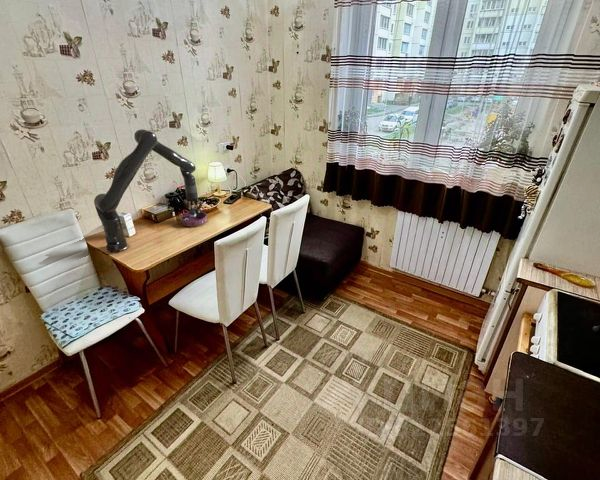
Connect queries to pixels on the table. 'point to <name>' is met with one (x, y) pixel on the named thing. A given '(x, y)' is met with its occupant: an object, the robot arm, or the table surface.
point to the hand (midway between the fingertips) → (194, 214)
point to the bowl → (194, 219)
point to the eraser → (192, 212)
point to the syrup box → (127, 224)
